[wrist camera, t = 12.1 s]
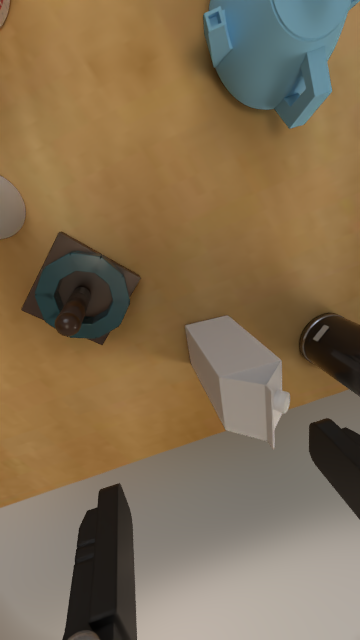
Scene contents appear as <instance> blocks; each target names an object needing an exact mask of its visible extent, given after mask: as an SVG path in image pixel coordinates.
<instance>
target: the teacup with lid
mask: <svg viewBox="0 0 360 640" xmlns="http://www.w3.org/2000/svg"><path fill="white" fill-rule="evenodd" d="M9 5H10V0H0V27H1V26H2V25H3V23H4V21H5V19H6V17H7V14H8V10H9Z"/></svg>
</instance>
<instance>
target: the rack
mask: <svg viewBox="0 0 360 640" xmlns="http://www.w3.org/2000/svg"><path fill="white" fill-rule="evenodd" d="M75 250H76V251H84V252H92V253H99V252H97V251H95V250H93V249H92V248H90V247H88V246H86V245H85V244H83V243H81V242H79V241H77V240H76V239H74V238H72V237H70V236H69V235H67V234H65V233H63V232H59V233H58V235H57V237H56V239H55V242H54V244H53V246H52V248H51V250H50V252H49V254H48V256H47V258H46V260H45V262H44V264H43V266H42V268H41V270H40V272H39V274H38V276H37V278H36V280H35V282H34V284H33V286H32V288H31V291H30V293H29V295H28V297H27V299H26V301H25V303H24V305H23V307H22V309H21V310H22V311H24V312H27V313H29V314H31V315H34V316H36V317H38V318H41V319H43V316H42V314H41V311H40V309H39V306H38V303H37V301H36V298H35V290H36V287H37V284H38V282H39V279H40V276H41V273H42V270H43V268H45V266H47V265H48V264H50V263H52V262H53V261H55V260H57V259H59V258H61V257H62V256H64V255H66V254H68V253H69V252H71V251H75ZM105 257H106V256H105ZM108 259H109V258H108ZM109 260H110V261H111V262H112V263H113V264H115V265H116V266H117V267H118V268H119V269H120V270H122V271H123V273H124V276H125V281H126V285H127V289H128V293H129V298H130V296H131V294H132V293H133V291H134V289H135V287H136V286H137V284H138V282H139V280H140V279H141V277H140V276H139V275H138V274H136V273H134V272H132V271H130V270H129V269H127V268H125V267H123V266H122V265H120V264H118V263H116V262H115V261H113V260H111V259H109ZM58 291H59V294H60V297H61V300H62V302H63V305H64V307H63V309H62V310H61V312H60V313H59V315H58V317H57V318H56V320H55V328H56V330H57V332H58V333H60V334H61V335H64V336H72V335H74V334H76V333H77V332H78V331H79V330H80V328H81V325H82V322H83V319H84V316H87V317H95V316H96V315H98V314H100V313H102V312H103V311H105V310H107V309H108V307H109V304H110V302H111V300H112V295H111V291H110V287H109V284H107V283H106V282H105V281H104V280H103V279H101V278H100V277H99V276H98V275H96V274H95V273H90V272H81V271H75V272H73V273H71V274H69V275H68V276H66V277H64V278H63V280H62V282H61V285H60V288H59V290H58ZM43 320H44V319H43ZM45 321H46V320H45ZM109 333H110V332H108V333H106V334H105V335H103V336H101V337H99V338H97V337H96V339H91V338H87V339H89V340H91V341H94V342H96V343H98V344H101V345H103V343H104V341H105V340H106V338H107V336H108V334H109Z"/></svg>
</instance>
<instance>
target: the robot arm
mask: <svg viewBox="0 0 360 640" xmlns="http://www.w3.org/2000/svg"><path fill="white" fill-rule="evenodd" d="M300 351H301V353H302V355H303V356H304V357H305V358H306V359H307V360H309V361H310V362H312V363H314V364H315V365H317V366H318V367H319V368H321V369H322V370H323V371H325V372H326V373H328V374H329V375H330V376H332V377H333V378H335V379H336V380H337V381H339V382H340V383H342V384H343V385H344V386H346V387H347V388H348V389H350V390H351V391H353V392H354V393H355V394H357V395H358V396H360V325H359V324H357V323H355V322H352V321H350V320H347V319H345V318H344V317H342V316H340V315H337V314H334V313H326V314H322V315H320V316H318V317H316V318H315V319H313V320H312V321H311V322H310V323H309V324H308V325H307V326H306V328H305V329H304V331H303V333H302V335H301V338H300ZM309 452H310V455H311V458H312V460H313V461H314V463H315V465H316V466H317V467H318V469H319V470H320V471H321V472H322V474H323V475H324V476H325V477H326V478H327V480H328V481H329V482H330V483H331V485H332V486H333V487H334V488H335V490H336V491H337V492H338V493H339V495H340V496H341V497H342V498H343V499H344V501H345V502H346V503H347V504H348V506H349V507H350V508H351V509H352V510H353V512H354V513H355V514H356V515H357V517H358V518H359V519H360V435H359V434H357V433H356V432H354V431H352V430H350V429H348V428H342V429H341V428H340V427H339V426H338V425H336V424H335V423H334V422H333V421H332V420H331V419H328V418H326V419H323V420H320V421H317V422H313V423H311V424H310V426H309ZM63 640H137V628H136V601H135V575H134V550H133V525H132V517H131V512H130V508H129V506H128V503H127V500H126V498H125V495H124V492H123V489H122V487H121V485H120V483H119V484H115V485H113V486H109V487H106V488H103V489H101V490H100V491H99V496H98V507H97V508H95V509H91V510H88V511H87V512H86V515H85V517H84V519H83V521H82V523H81V525H80V528H79V534H78V541H77V549H76V556H75V565H74V570H73V577H72V584H71V591H70V599H69V606H68V613H67V621H66V628H65V633H64V636H63Z"/></svg>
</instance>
